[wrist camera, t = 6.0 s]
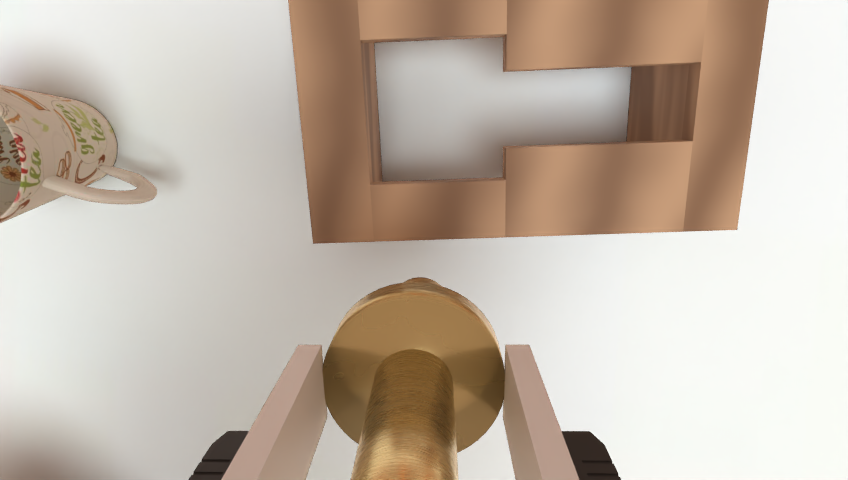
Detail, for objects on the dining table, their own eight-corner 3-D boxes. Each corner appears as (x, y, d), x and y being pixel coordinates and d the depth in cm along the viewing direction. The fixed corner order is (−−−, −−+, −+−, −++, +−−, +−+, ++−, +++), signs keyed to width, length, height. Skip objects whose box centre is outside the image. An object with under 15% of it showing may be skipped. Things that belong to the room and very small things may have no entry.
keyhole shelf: (341, 210, 36) (313, 243, 28) (324, 8, 33) (285, -28, 24) (662, 200, 36) (737, 229, 27) (682, -8, 32) (775, -50, 23)
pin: (358, 362, 23) (195, 897, 8) (350, 241, 21) (123, 609, 6) (485, 362, 23) (583, 911, 7) (487, 240, 21) (622, 617, 6)
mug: (27, 64, 34) (-133, 47, 24) (201, 127, 35) (114, 135, 25) (12, 175, 36) (-140, 200, 26) (177, 232, 37) (87, 276, 27)
